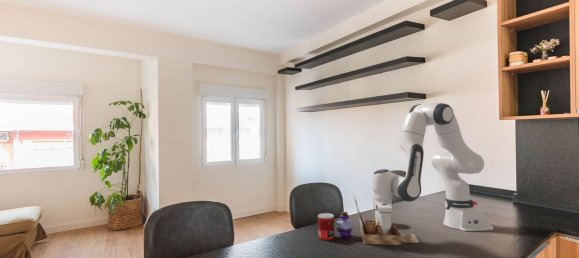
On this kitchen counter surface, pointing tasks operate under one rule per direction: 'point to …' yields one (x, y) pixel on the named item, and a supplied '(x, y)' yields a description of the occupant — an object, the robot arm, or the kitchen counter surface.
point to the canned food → (326, 226)
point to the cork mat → (409, 238)
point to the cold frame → (390, 239)
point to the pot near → (380, 230)
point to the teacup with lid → (377, 219)
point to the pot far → (370, 226)
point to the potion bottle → (344, 226)
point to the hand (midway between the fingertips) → (383, 232)
